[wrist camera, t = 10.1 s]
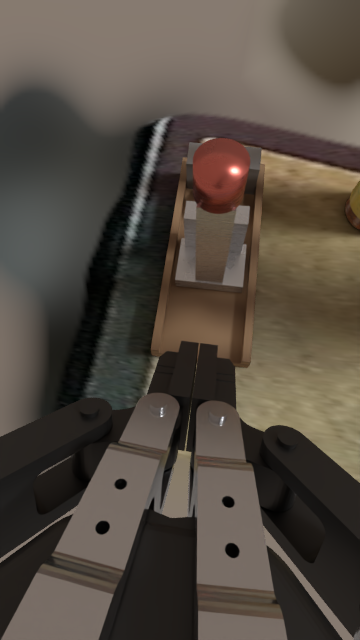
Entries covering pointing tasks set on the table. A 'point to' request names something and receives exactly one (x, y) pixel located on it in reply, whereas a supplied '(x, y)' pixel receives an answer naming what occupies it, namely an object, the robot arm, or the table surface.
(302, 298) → the table surface
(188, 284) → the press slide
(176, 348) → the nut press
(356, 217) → the sauce bottle
